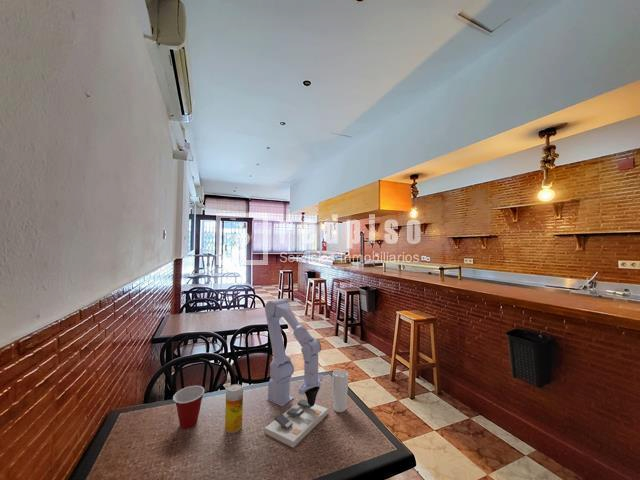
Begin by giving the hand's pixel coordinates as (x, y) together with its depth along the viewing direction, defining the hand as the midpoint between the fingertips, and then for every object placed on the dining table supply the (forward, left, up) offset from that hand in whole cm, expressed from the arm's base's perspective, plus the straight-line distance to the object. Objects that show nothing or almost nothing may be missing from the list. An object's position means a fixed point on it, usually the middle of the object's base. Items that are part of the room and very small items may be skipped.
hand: (311, 405), depth 110 cm
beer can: (-19, -23, -4) cm, 30 cm away
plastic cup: (-35, -31, -4) cm, 47 cm away
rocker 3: (-3, 0, 0) cm, 3 cm away
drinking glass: (+8, +10, -4) cm, 13 cm away
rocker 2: (-3, -7, 0) cm, 8 cm away
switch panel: (-1, -7, -4) cm, 8 cm away
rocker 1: (-3, -14, 0) cm, 14 cm away
